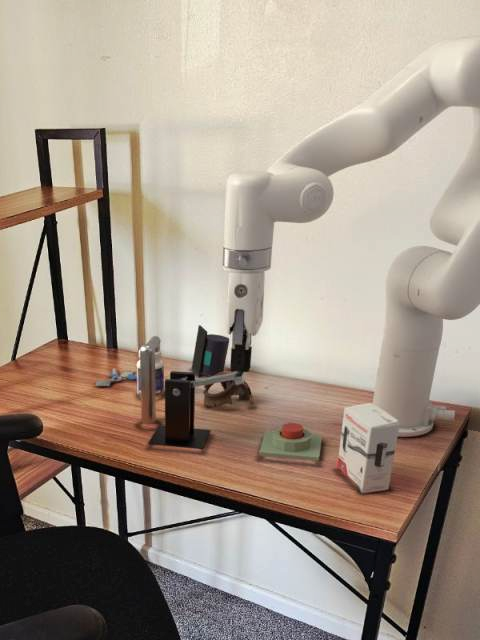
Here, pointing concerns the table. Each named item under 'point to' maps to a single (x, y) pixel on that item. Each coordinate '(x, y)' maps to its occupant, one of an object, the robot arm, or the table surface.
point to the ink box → (368, 446)
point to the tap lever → (218, 379)
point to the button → (292, 431)
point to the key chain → (115, 375)
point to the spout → (148, 380)
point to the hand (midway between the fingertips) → (240, 369)
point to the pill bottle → (158, 375)
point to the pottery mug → (227, 392)
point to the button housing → (291, 446)
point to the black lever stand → (180, 415)
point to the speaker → (209, 353)
